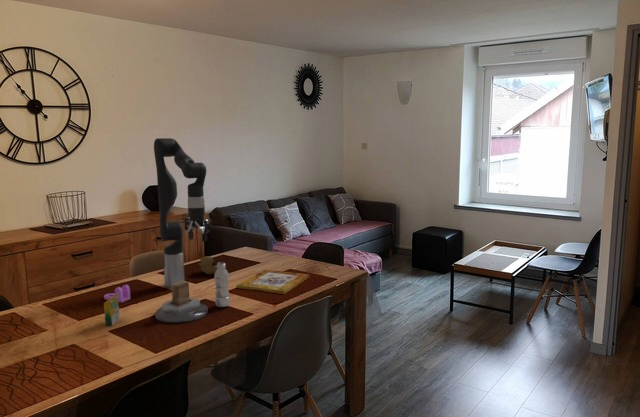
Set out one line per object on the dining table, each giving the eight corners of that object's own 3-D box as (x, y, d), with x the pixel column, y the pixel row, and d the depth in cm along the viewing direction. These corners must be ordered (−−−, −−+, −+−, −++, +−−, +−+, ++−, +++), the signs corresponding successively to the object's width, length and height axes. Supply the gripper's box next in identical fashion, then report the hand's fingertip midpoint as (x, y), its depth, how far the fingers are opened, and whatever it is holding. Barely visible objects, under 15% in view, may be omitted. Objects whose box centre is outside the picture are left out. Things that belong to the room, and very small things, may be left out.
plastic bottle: (232, 304, 225) (231, 262, 222) (225, 309, 219) (223, 265, 216) (220, 303, 227) (218, 261, 224) (212, 308, 221) (210, 264, 218)
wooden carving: (223, 274, 273) (223, 257, 272) (217, 276, 269) (217, 259, 268) (202, 270, 282) (201, 253, 280) (196, 272, 278) (195, 255, 276)
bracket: (130, 299, 234) (129, 285, 233) (121, 302, 229) (120, 288, 228) (111, 295, 240) (110, 281, 239) (101, 298, 235) (100, 284, 234)
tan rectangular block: (173, 311, 212) (171, 284, 211) (183, 307, 218) (181, 281, 216) (179, 313, 210) (178, 286, 209) (189, 308, 216) (188, 282, 214)
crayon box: (113, 319, 208) (111, 293, 206) (120, 319, 208) (118, 293, 206) (105, 326, 201) (103, 298, 199) (112, 326, 201) (110, 298, 199)
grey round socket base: (144, 317, 211) (143, 304, 210) (183, 302, 229) (182, 290, 228) (180, 327, 199) (179, 314, 198) (218, 310, 218) (217, 298, 217)
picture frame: (309, 274, 267) (284, 290, 239) (309, 278, 267) (284, 295, 240) (265, 269, 277) (236, 284, 250) (265, 273, 277) (236, 288, 250)
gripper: (179, 206, 228) (181, 240, 231) (201, 208, 221) (203, 243, 223) (191, 204, 234) (192, 237, 237) (213, 206, 227) (214, 240, 229)
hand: (197, 240), depth 230 cm, fingers open, 8 cm apart
